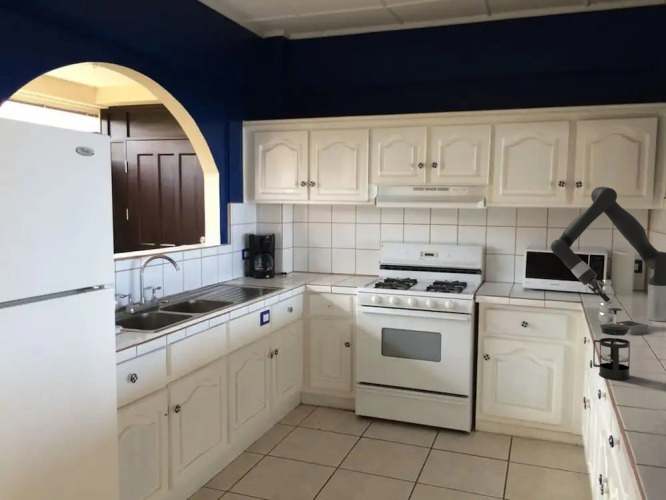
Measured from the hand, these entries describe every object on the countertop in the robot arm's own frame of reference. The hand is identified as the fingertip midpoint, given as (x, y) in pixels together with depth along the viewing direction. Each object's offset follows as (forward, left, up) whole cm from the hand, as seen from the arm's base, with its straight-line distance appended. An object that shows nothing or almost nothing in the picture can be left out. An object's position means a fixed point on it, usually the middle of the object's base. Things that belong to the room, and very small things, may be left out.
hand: (610, 299), depth 260 cm
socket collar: (0, +11, -13) cm, 16 cm away
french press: (+58, +56, -13) cm, 82 cm away
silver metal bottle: (+1, -1, -11) cm, 11 cm away
